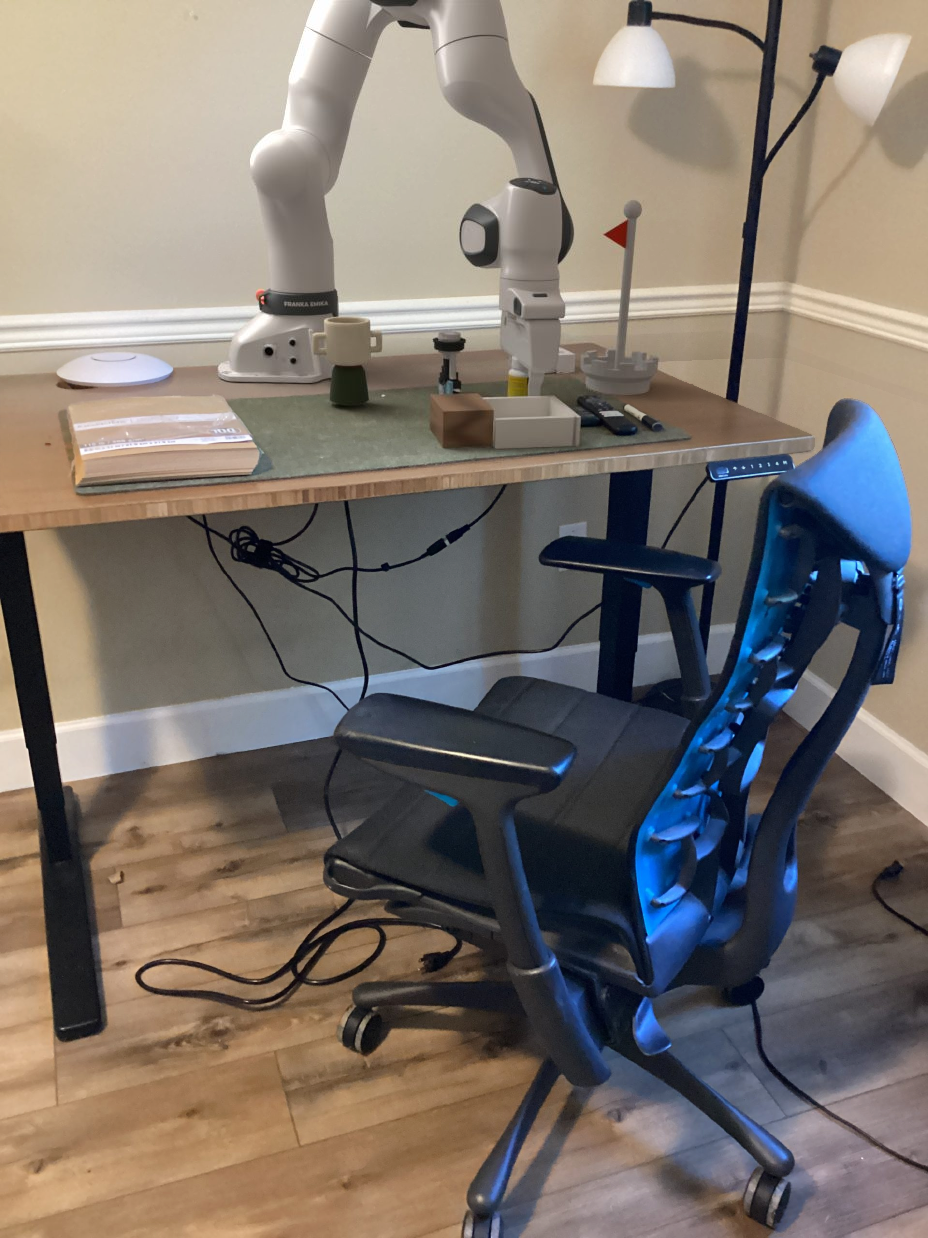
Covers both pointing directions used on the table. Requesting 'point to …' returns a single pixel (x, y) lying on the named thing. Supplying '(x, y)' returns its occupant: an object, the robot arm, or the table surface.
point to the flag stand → (621, 329)
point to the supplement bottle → (517, 379)
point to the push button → (449, 361)
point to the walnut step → (461, 420)
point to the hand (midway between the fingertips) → (524, 390)
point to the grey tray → (533, 422)
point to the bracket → (565, 361)
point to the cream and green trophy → (348, 356)
